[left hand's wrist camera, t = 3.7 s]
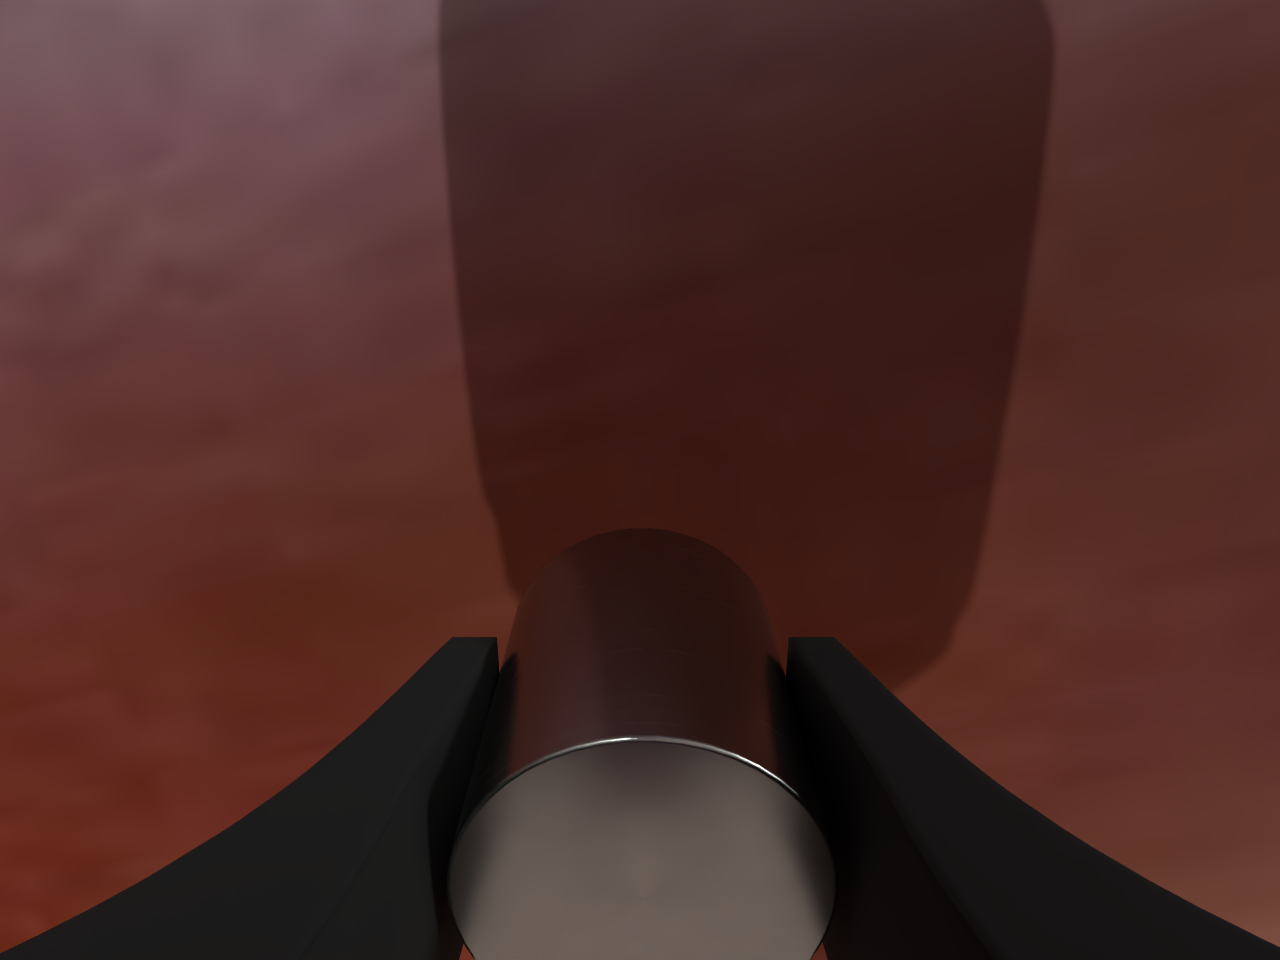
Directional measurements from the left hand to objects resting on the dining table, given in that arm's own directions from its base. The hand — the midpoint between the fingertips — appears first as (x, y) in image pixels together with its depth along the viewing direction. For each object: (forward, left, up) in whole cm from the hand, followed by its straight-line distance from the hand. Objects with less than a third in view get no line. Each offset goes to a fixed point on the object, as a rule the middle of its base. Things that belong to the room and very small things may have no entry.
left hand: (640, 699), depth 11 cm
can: (0, 0, -1) cm, 1 cm away
